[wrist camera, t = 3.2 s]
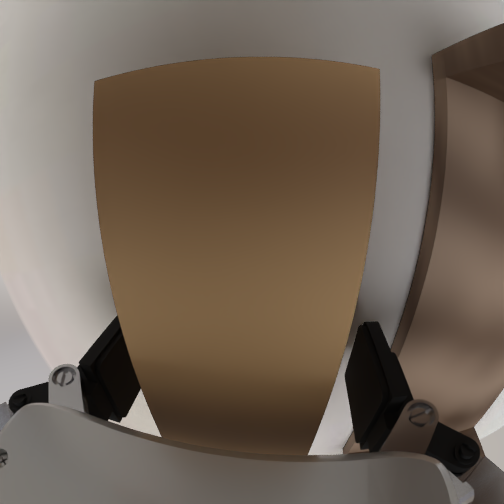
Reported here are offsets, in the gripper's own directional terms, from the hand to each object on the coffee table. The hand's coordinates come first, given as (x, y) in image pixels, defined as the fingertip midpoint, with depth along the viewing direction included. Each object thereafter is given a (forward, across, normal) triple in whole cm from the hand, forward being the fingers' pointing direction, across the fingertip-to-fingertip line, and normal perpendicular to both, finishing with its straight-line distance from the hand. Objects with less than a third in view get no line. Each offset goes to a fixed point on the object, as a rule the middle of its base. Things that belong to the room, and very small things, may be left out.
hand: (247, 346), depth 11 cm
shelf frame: (+2, -13, 0) cm, 13 cm away
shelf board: (+2, 0, 0) cm, 2 cm away
